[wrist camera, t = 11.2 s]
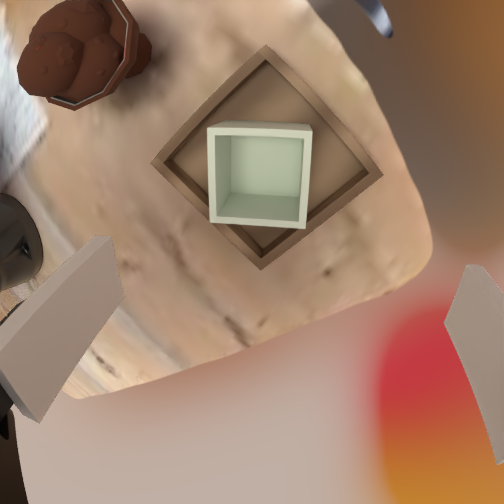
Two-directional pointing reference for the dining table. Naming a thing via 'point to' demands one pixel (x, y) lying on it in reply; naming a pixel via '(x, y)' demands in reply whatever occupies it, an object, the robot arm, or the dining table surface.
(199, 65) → the dining table surface
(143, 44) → the ice cream bowl
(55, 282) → the robot arm
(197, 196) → the walnut tray
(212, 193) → the sage crate
